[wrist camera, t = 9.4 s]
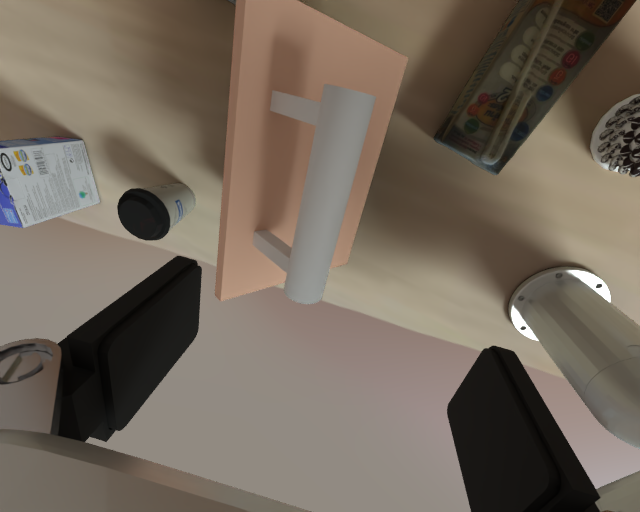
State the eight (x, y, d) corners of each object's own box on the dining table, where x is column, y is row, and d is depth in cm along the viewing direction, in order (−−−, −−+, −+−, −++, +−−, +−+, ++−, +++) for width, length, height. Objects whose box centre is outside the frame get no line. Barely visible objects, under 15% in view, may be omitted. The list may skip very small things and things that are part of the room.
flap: (399, 56, 27) (493, 67, 22) (340, 259, 36) (397, 298, 32) (237, -25, 16) (353, -39, 11) (214, 295, 26) (272, 361, 21)
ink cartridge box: (50, 135, 45) (-78, 144, 32) (84, 137, 44) (-33, 148, 32) (71, 200, 49) (-35, 231, 37) (102, 203, 49) (5, 236, 36)
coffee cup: (152, 199, 47) (102, 220, 38) (172, 164, 44) (122, 178, 35) (190, 228, 48) (149, 255, 39) (211, 196, 46) (172, 217, 37)
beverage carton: (427, 138, 38) (438, 143, 32) (546, -49, 30) (589, -89, 24) (481, 169, 39) (501, 179, 33) (612, -6, 30) (671, -35, 24)
